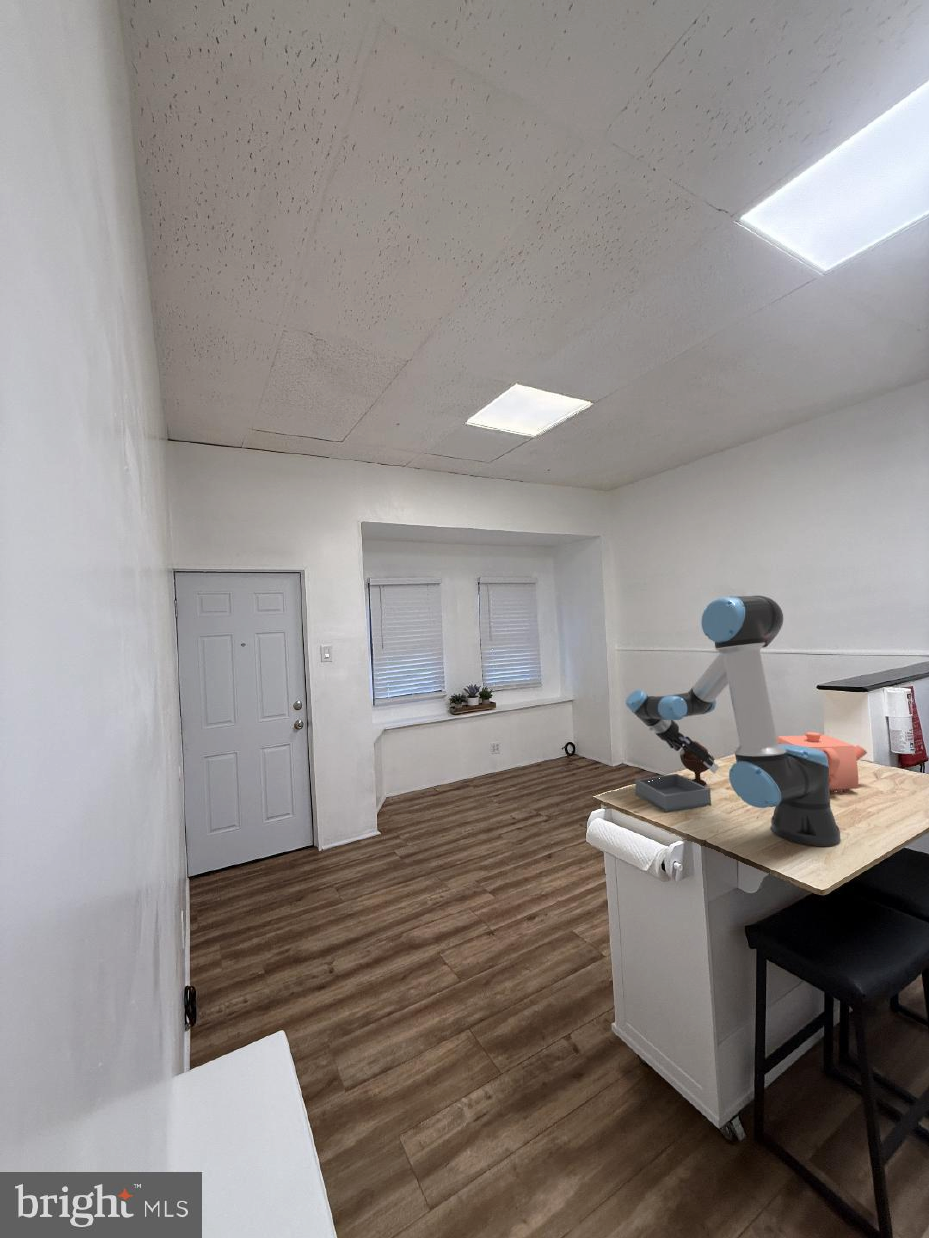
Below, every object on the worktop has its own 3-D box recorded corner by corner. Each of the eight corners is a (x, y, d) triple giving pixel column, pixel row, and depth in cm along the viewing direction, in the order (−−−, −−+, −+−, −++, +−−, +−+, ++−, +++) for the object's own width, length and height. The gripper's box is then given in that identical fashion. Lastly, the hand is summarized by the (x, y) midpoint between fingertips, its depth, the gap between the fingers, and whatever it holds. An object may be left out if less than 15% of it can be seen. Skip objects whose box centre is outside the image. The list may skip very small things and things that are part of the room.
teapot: (844, 773, 171) (841, 723, 171) (894, 798, 148) (891, 740, 148) (769, 775, 173) (766, 725, 173) (807, 799, 151) (804, 742, 151)
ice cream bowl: (713, 791, 162) (710, 746, 162) (677, 785, 168) (675, 742, 168) (718, 781, 170) (716, 739, 170) (684, 776, 177) (682, 735, 177)
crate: (711, 805, 151) (710, 789, 151) (666, 812, 147) (665, 796, 147) (677, 788, 166) (676, 773, 166) (635, 794, 163) (635, 779, 163)
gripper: (636, 726, 177) (675, 763, 181) (678, 742, 154) (722, 784, 158) (648, 710, 178) (687, 748, 182) (692, 724, 155) (735, 766, 159)
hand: (703, 764), depth 170 cm, fingers closed on ice cream bowl, 11 cm apart
